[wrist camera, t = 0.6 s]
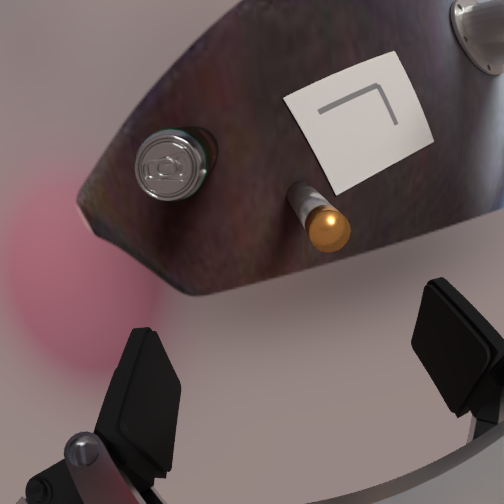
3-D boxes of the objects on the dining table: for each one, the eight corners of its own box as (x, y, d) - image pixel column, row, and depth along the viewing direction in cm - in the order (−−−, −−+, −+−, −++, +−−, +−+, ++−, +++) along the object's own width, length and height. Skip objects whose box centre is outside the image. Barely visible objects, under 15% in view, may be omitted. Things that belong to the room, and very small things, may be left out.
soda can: (221, 171, 29) (209, 202, 18) (173, 176, 29) (136, 210, 18) (216, 123, 26) (201, 123, 16) (167, 130, 26) (124, 136, 16)
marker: (306, 175, 29) (340, 205, 19) (319, 199, 30) (356, 239, 21) (281, 189, 30) (303, 226, 20) (294, 213, 31) (321, 259, 21)
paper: (393, 51, 23) (394, 50, 22) (433, 141, 27) (434, 141, 27) (282, 98, 25) (283, 98, 25) (335, 195, 30) (336, 195, 30)
